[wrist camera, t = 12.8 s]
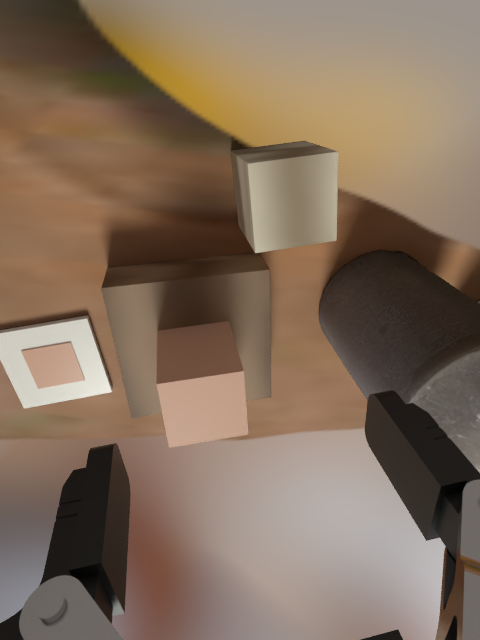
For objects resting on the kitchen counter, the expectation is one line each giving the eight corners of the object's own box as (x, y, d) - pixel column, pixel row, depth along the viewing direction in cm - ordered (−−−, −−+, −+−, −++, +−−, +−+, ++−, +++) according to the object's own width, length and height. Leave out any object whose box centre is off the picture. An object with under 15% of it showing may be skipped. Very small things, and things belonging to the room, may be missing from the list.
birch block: (238, 225, 29) (255, 253, 24) (230, 150, 27) (247, 163, 21) (305, 215, 30) (336, 240, 24) (304, 140, 27) (338, 151, 22)
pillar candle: (416, 229, 32) (590, 322, 19) (434, 325, 36) (582, 453, 24) (301, 280, 32) (391, 406, 19) (334, 369, 37) (424, 516, 24)
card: (25, 404, 33) (23, 409, 33) (-10, 331, 30) (-12, 336, 29) (112, 388, 34) (111, 392, 33) (88, 315, 30) (87, 319, 30)
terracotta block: (167, 387, 30) (169, 447, 25) (157, 330, 28) (156, 384, 23) (233, 377, 31) (248, 434, 26) (228, 320, 29) (243, 371, 23)
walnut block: (134, 386, 35) (131, 418, 31) (108, 265, 29) (101, 288, 26) (260, 368, 36) (271, 397, 33) (257, 250, 31) (269, 269, 27)
